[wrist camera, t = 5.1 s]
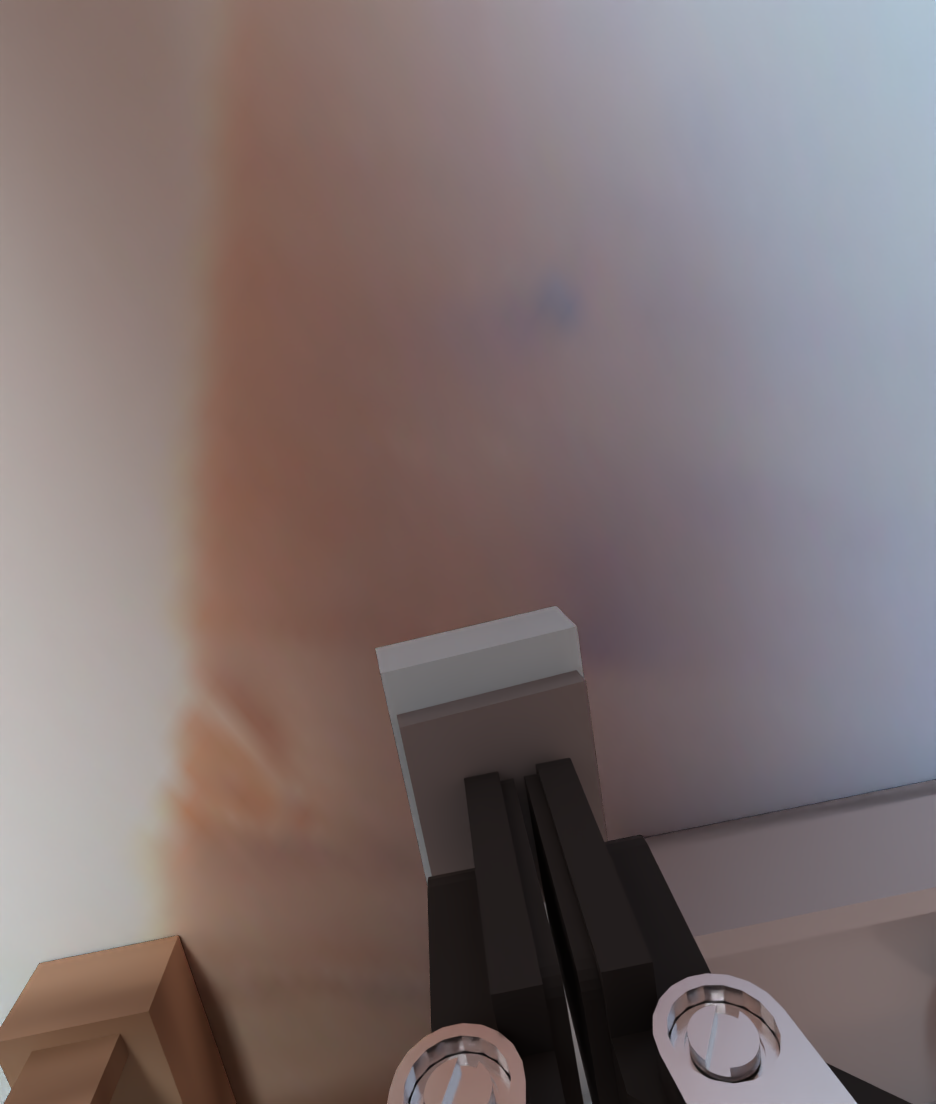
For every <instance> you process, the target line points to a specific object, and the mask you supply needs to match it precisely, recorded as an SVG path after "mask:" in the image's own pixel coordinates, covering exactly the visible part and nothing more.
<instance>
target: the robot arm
mask: <svg viewBox="0 0 936 1104" xmlns="http://www.w3.org/2000/svg"><path fill="white" fill-rule="evenodd" d="M524 781H525V787H526V793H527V799H528V805H529V810H530V816H531V822H532V828H533V834H534V839H535V845H536V851H537V857H538V863H539V869H540V874H541V880H542V886H543V892H544V898H545V904H546V909H547V914H546V910H545V906H544V901H543V897H542V893H541V889H540V885H539V881H538V877H537V873H536V869H535V865H534V860H533V856H532V852H531V848H530V844H529V840H528V836H527V832H526V828H525V824H524V820H523V815H522V811H521V807H520V803H519V799H518V795H517V791H516V787H515V783H514V779H513V778H512V779H507V780H502V781H500V779H499V774H498V772H492V773H487V774H482V775H477V776H472V777H467V778H464V784H465V792H466V800H467V808H468V816H469V824H470V832H471V841H472V849H473V857H474V865H475V868H471V869H466V870H461V871H456V872H451V873H446V874H441V875H436V876H431V877H428V923H429V960H430V996H431V1034H429V1035H427V1036H425V1037H424V1038H423V1039H421V1040H420V1041H419V1042H418V1043H417V1044H416V1045H415V1046H414V1047H412V1048H411V1049H410V1050H409V1051H408V1053H407V1054H406V1055H405V1057H404V1058H403V1060H402V1061H401V1063H400V1064H399V1066H398V1067H397V1069H396V1072H395V1075H394V1078H393V1081H392V1084H391V1087H390V1090H389V1096H388V1102H387V1104H584V1102H583V1097H582V1091H581V1085H580V1079H579V1073H578V1067H577V1061H576V1055H575V1049H574V1044H573V1038H572V1032H571V1026H570V1020H569V1014H568V1008H567V1003H566V998H567V1002H568V1007H569V1011H570V1015H571V1019H572V1023H573V1027H574V1031H575V1035H576V1039H577V1044H578V1048H579V1052H580V1056H581V1060H582V1064H583V1068H584V1072H585V1076H586V1081H587V1085H588V1089H589V1093H590V1097H591V1101H592V1104H912V1103H910V1102H907V1101H905V1100H903V1099H901V1098H899V1097H897V1096H895V1095H893V1094H891V1093H889V1092H887V1091H884V1090H882V1089H880V1088H878V1087H876V1086H874V1085H872V1084H870V1083H868V1082H866V1081H863V1080H861V1079H859V1078H857V1077H855V1076H853V1075H851V1074H849V1073H847V1072H845V1071H843V1070H840V1069H838V1068H836V1067H834V1066H832V1065H830V1064H828V1063H826V1062H825V1061H824V1060H823V1059H822V1057H821V1056H820V1055H819V1054H818V1052H817V1051H816V1050H815V1048H814V1047H813V1046H812V1045H811V1043H810V1042H809V1041H808V1039H807V1038H806V1037H805V1036H804V1034H803V1033H802V1032H801V1030H800V1029H799V1028H798V1027H797V1025H796V1024H795V1023H794V1021H793V1020H792V1019H791V1018H790V1016H789V1015H788V1014H787V1012H786V1011H785V1010H784V1009H783V1007H782V1006H781V1005H780V1004H779V1003H778V1002H777V1001H775V1000H774V999H773V998H772V997H771V996H770V995H769V994H768V993H767V992H766V991H764V990H762V989H761V988H759V987H757V986H756V985H754V984H752V983H751V982H749V981H746V980H743V979H740V978H736V977H733V976H730V975H724V974H711V972H710V970H709V968H708V966H707V964H706V961H705V959H704V957H703V955H702V953H701V951H700V949H699V947H698V945H697V943H696V941H695V939H694V937H693V935H692V933H691V931H690V929H689V927H688V925H687V923H686V921H685V919H684V917H683V915H682V913H681V911H680V909H679V907H678V905H677V903H676V901H675V899H674V897H673V895H672V893H671V891H670V888H669V886H668V884H667V882H666V880H665V878H664V876H663V874H662V872H661V870H660V868H659V866H658V864H657V862H656V860H655V858H654V856H653V854H652V852H651V850H650V848H649V846H648V844H647V842H646V841H645V839H644V837H643V836H641V835H637V836H632V837H627V838H622V839H617V840H612V841H607V842H604V840H603V837H602V835H601V832H600V830H599V827H598V825H597V823H596V820H595V818H594V815H593V813H592V810H591V808H590V805H589V803H588V800H587V798H586V795H585V793H584V790H583V788H582V785H581V783H580V780H579V778H578V775H577V773H576V771H575V768H574V766H573V763H572V761H571V759H570V758H564V759H559V760H554V761H549V762H544V763H539V764H536V774H533V775H528V776H524ZM547 915H548V918H547ZM548 921H549V922H548ZM563 986H564V987H563ZM564 990H565V992H564ZM565 994H566V997H565Z"/></svg>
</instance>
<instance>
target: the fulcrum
mask: <svg viewBox="0 0 936 1104" xmlns="http://www.w3.org/2000/svg"><path fill="white" fill-rule="evenodd" d="M0 1065H1V1067H2V1069H3V1071H4V1074H5V1076H6V1078H7V1080H8V1082H9V1085H10V1087H11V1091H10V1093H9V1095H8V1097H7V1099H6V1101H5V1102H4V1104H236V1101H235V1098H234V1095H233V1092H232V1089H231V1086H230V1083H229V1080H228V1078H227V1075H226V1072H225V1069H224V1066H223V1063H222V1060H221V1057H220V1054H219V1051H218V1049H217V1046H216V1043H215V1040H214V1037H213V1034H212V1031H211V1028H210V1025H209V1022H208V1020H207V1017H206V1014H205V1011H204V1008H203V1005H202V1002H201V999H200V996H199V993H198V991H197V988H196V985H195V982H194V979H193V976H192V973H191V970H190V967H189V964H188V962H187V959H186V956H185V953H184V950H183V947H182V944H181V941H180V938H179V935H178V936H173V937H168V938H163V939H158V940H153V941H148V942H143V943H138V944H133V945H128V946H123V947H118V948H113V949H108V950H103V951H98V952H93V953H88V954H83V955H78V956H73V957H68V958H63V959H58V960H53V961H48V962H43V963H39V965H38V966H37V968H36V970H35V971H34V973H33V975H32V976H31V978H30V979H29V981H28V983H27V984H26V986H25V988H24V989H23V991H22V993H21V994H20V996H19V998H18V999H17V1001H16V1003H15V1004H14V1006H13V1008H12V1009H11V1011H10V1013H9V1014H8V1016H7V1017H6V1019H5V1021H4V1022H3V1024H2V1026H1V1027H0Z"/></svg>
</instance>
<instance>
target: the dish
mask: <svg viewBox="0 0 936 1104" xmlns="http://www.w3.org/2000/svg"><path fill="white" fill-rule="evenodd" d="M644 839H645V841H646V842H647V844H648V846H649V848H650V850H651V852H652V854H653V856H654V858H655V860H656V862H657V864H658V866H659V868H660V870H661V872H662V874H663V876H664V878H665V880H666V882H667V884H668V886H669V888H670V891H671V893H672V895H673V897H674V899H675V901H676V903H677V905H678V907H679V909H680V911H681V913H682V915H683V917H684V919H685V921H686V923H687V925H688V927H689V929H690V931H691V933H692V935H693V937H694V939H695V941H696V943H697V945H698V947H699V949H700V951H701V953H702V955H703V957H704V959H705V961H706V964H707V966H708V968H709V970H710V972H711V974H724V975H730V976H733V977H736V978H740V979H743V980H746V981H749V982H751V983H752V984H754V985H756V986H757V987H759V988H761V989H762V990H764V991H766V992H767V993H768V994H769V995H770V996H771V997H772V998H773V999H774V1000H775V1001H777V1002H778V1003H779V1004H780V1005H781V1006H782V1007H783V1009H784V1010H785V1011H786V1012H787V1014H788V1015H789V1016H790V1018H791V1019H792V1020H793V1021H794V1023H795V1024H796V1025H797V1027H798V1028H799V1029H800V1030H801V1032H802V1033H803V1034H804V1036H805V1037H806V1038H807V1039H808V1041H809V1042H810V1043H811V1045H812V1046H813V1047H814V1048H815V1050H816V1051H817V1052H818V1054H819V1055H820V1056H821V1057H822V1059H823V1060H824V1061H825V1062H826V1063H828V1064H830V1065H832V1066H834V1067H836V1068H838V1069H840V1070H843V1071H845V1072H847V1073H849V1074H851V1075H853V1076H855V1077H857V1078H859V1079H861V1080H863V1081H866V1082H868V1083H870V1084H872V1085H874V1086H876V1087H878V1088H880V1089H882V1090H884V1091H887V1092H889V1093H891V1094H893V1095H895V1096H897V1097H899V1098H901V1099H903V1100H905V1101H907V1102H910V1103H912V1104H936V780H931V781H926V782H921V783H916V784H911V785H906V786H901V787H896V788H891V789H886V790H881V791H876V792H871V793H866V794H861V795H856V796H851V797H846V798H841V799H836V800H831V801H826V802H821V803H816V804H811V805H806V806H801V807H796V808H791V809H786V810H782V811H777V812H772V813H767V814H762V815H757V816H752V817H747V818H742V819H737V820H732V821H727V822H722V823H717V824H712V825H707V826H702V827H697V828H692V829H687V830H682V831H677V832H672V833H667V834H662V835H657V836H652V837H647V838H644Z"/></svg>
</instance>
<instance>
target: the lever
mask: <svg viewBox="0 0 936 1104" xmlns="http://www.w3.org/2000/svg"><path fill="white" fill-rule="evenodd" d="M375 650H376V655H377V660H378V665H379V670H380V675H381V679H382V684H383V688H384V693H385V697H386V702H387V706H388V711H389V715H390V720H391V724H392V729H393V733H394V738H395V742H396V747H397V751H398V756H399V760H400V765H401V769H402V774H403V778H404V783H405V787H406V792H407V796H408V801H409V805H410V810H411V814H412V819H413V823H414V828H415V832H416V837H417V841H418V846H419V850H420V855H421V859H422V864H423V868H424V873H425V877H426V882H427V886H428V877H431V876H436V875H441V874H446V873H451V872H456V871H461V870H466V869H471V868H475V865H474V857H473V849H472V841H471V832H470V824H469V816H468V808H467V800H466V792H465V784H464V778H467V777H472V776H477V775H482V774H487V773H492V772H498V774H499V779H500V781H502V780H507V779H512V778H513V779H514V783H515V787H516V791H517V795H518V799H519V803H520V807H521V811H522V815H523V820H524V824H525V828H526V832H527V836H528V840H529V844H530V848H531V852H532V856H533V860H534V865H535V869H536V873H537V877H538V881H539V885H540V889H541V893H542V897H543V901H544V906H545V910H546V914H547V909H546V904H545V898H544V892H543V886H542V880H541V874H540V869H539V863H538V857H537V851H536V845H535V839H534V834H533V828H532V822H531V816H530V810H529V805H528V799H527V793H526V787H525V781H524V776H528V775H533V774H536V764H539V763H544V762H549V761H554V760H559V759H564V758H570V759H571V761H572V763H573V766H574V768H575V771H576V773H577V775H578V778H579V780H580V783H581V785H582V788H583V790H584V793H585V795H586V798H587V800H588V803H589V805H590V808H591V810H592V813H593V815H594V818H595V820H596V823H597V825H598V827H599V830H600V832H601V835H602V837H603V840H604V842H607V833H606V826H605V819H604V811H603V804H602V797H601V789H600V782H599V775H598V767H597V760H596V753H595V745H594V738H593V731H592V723H591V716H590V709H589V701H588V694H587V687H586V681H585V679H584V674H583V667H582V660H581V653H580V645H579V638H578V631H577V626H576V625H575V624H574V623H573V622H572V621H571V620H570V619H569V618H568V617H567V616H566V615H565V614H564V613H563V612H562V611H561V610H560V609H559V608H558V607H557V606H553V607H549V608H544V609H540V610H536V611H532V612H527V613H523V614H519V615H515V616H510V617H506V618H502V619H498V620H493V621H489V622H485V623H481V624H476V625H472V626H468V627H463V628H459V629H455V630H451V631H446V632H442V633H438V634H434V635H429V636H425V637H421V638H417V639H412V640H408V641H404V642H400V643H395V644H391V645H387V646H383V647H378V648H375ZM547 918H548V915H547ZM548 922H549V921H548ZM563 987H564V986H563ZM564 992H565V990H564ZM565 997H566V994H565ZM566 1003H567V1008H568V1014H569V1020H570V1026H571V1032H572V1038H573V1044H574V1049H575V1055H576V1061H577V1067H578V1073H579V1079H580V1085H581V1091H582V1097H583V1102H584V1104H592V1101H591V1097H590V1093H589V1089H588V1085H587V1081H586V1076H585V1072H584V1068H583V1064H582V1060H581V1056H580V1052H579V1048H578V1044H577V1039H576V1035H575V1031H574V1027H573V1023H572V1019H571V1015H570V1011H569V1007H568V1002H567V998H566Z"/></svg>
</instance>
